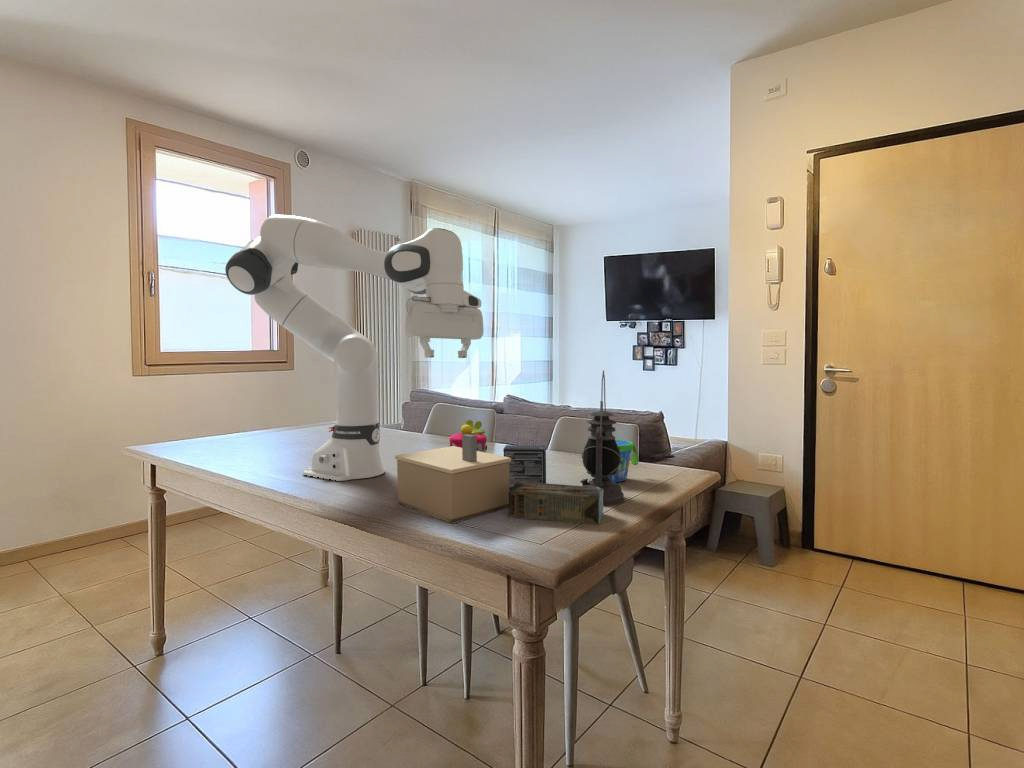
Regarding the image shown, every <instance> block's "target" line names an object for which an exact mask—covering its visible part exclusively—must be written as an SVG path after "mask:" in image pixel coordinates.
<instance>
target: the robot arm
mask: <svg viewBox="0 0 1024 768" xmlns="http://www.w3.org/2000/svg"><path fill="white" fill-rule="evenodd" d="M260 227H261V228H260V231H259V235H258V236H257V237H255V238H254V239H252V240H250V241H249V242H248V243H247V244H246V245H245V246H243V247H242V248H241V249H239V251H237V252H235V253H233V255H232V256H231V257H230V258H229V259H228V261H227V263H226V265H225V276H226V278H227V280H228V282H229V283H230V284H231V285H232V286H233V288H234V289H236V290H237V291H239V292H240V293H242V294H244V295H248V296H252V295H253V296H254V300H255V303H256V304H257V305H258V306H259V307H260V309H261V310H263V312H265V314H266V315H267V316H269V317H270V318H271V319H272V320H273V321H275V322H276V323H277V324H278V325H280V326H281V327H283V328H284V329H285V330H287V331H288V332H290V333H291V334H292V335H294V336H295V337H297V339H299V340H300V341H302V342H303V343H305V344H306V345H308V346H309V347H311V348H312V349H314V350H315V351H316V352H318V353H320V354H321V355H323V356H324V357H326V358H327V359H328V360H330V361H332V362H333V368H334V385H335V386H334V387H335V399H336V404H335V405H336V424H335V425H334V426H330V427H328V429H329V430H328V432H329V433H331V432H332V433H331V438H329V439H328V440H327V441H326V442H324V443H323V444H322V445H320V447H318V448H317V449H316V450H315V451H314V452H313V454H312V457H311V465H310V467H308V468H306V469H304V470H303V472H302V476H304V475H307V476H306V477H310V476H313V477H312V478H317V477H319V478H318V479H323V478H324V480H329V479H331V480H330V481H335V480H336V481H337V482H343V481H349V480H350V481H351V480H359V479H368V478H374V477H377V476H380V475H382V474H384V473H385V471H386V470H385V468H384V465H383V461H382V460H383V459H382V455H381V449H380V439H381V437H380V436H381V430H380V423H379V422H378V421H379V412H378V366H377V365H378V363H377V357H378V356H377V349H376V347H375V345H374V343H373V342H372V341H371V340H370V339H369V338H368V337H367V336H365V335H363V334H362V333H360V332H359V331H358V330H357V329H355V328H354V327H352V326H351V325H350V324H349V323H347V322H346V321H345V320H343V319H342V318H340V316H338V315H337V314H336V313H334V312H333V311H331V309H329V308H328V307H326V306H325V305H324V304H322V303H320V302H319V301H318V300H316V298H314V297H313V296H311V295H310V294H309V293H307V292H306V291H304V290H303V289H301V288H300V287H299V286H298V285H296V283H295V282H294V281H293V279H292V275H296V274H297V273H298V270H299V264H300V265H304V266H307V267H314V268H319V269H320V268H321V269H330V270H343V271H350V272H351V271H352V272H359V273H364V274H368V275H372V276H376V277H379V278H384V279H388V280H391V281H392V282H393V283H396V284H397V285H399V286H401V287H404V288H405V289H406V290H407V291H410V293H413V294H414V295H412V296H411V297H409V298H408V299H407V300H406V303H405V305H406V306H405V307H406V308H405V309H406V315H405V323H404V324H405V325H404V326H405V327H404V332H405V334H406V336H407V337H408V338H419V344H420V346H421V348H422V349H423V350H424V358H430V359H432V358H435V349H432V348H431V347H430V344H429V343H430V342H431V339H446V340H448V339H450V340H460V344H462V346H461V349H460V350H458V351H457V358H458V359H467V358H468V350H469V348H470V346H471V344H472V342H471V341H472V340H474V341H475V340H476V341H477V340H481V339H482V338H483V336H484V332H485V331H484V330H485V329H484V317H483V313H482V311H481V309H480V308H481V307H482V299H480V298H479V297H477V296H476V295H473V294H471V293H470V292H468V291H466V290H464V282H463V277H462V276H463V270H464V260H463V259H464V258H463V257H464V255H463V247H462V242H461V239H460V237H459V236H458V235H457V234H456V233H455V232H453V231H452V230H448V229H446V228H440V227H437V228H436V227H433V228H429V229H427V230H426V232H424V233H423V234H422V235H421V236H419V237H417V238H415V239H413V240H410V241H407V242H404V243H399V244H396V245H394V246H392V247H391V248H390V249H389V250H388V251H387V252H385V251H381V250H377V249H374V248H371V247H368V246H366V245H364V244H362V243H360V242H358V241H357V240H355V239H354V238H352V237H351V236H349V235H348V234H346V233H344V232H343V231H341V230H340V229H338V228H336V227H334V226H332V225H330V224H328V223H326V222H323V221H320V220H317V219H313V218H308V217H303V216H296V215H290V214H288V215H287V214H274V215H273V214H272V215H270V216H268V217H267V218H266V219H265V220H264V221H263V222H262V224H261V226H260ZM417 295H419V296H417ZM420 295H421V296H420ZM422 295H425V296H422Z"/></svg>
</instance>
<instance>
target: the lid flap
mask: <svg viewBox="0 0 1024 768" xmlns="http://www.w3.org/2000/svg"><path fill="white" fill-rule="evenodd" d="M394 457H395V458H394V459H395V460H396V461H397V460H401V461H405V462H408V463H412V464H416V465H419V466H423V467H427V468H431V469H434V470H438V471H442V472H446V473H449V474H454V473H458V472H463V471H468V470H473V469H478V468H482V467H487V466H492V465H497V464H502V463H506V462H511V458H509V457H504V455H498V454H494V453H489V452H486V453H485V452H480V451H477V436H475V435H470V434H465V435H462V448H460V447H456V446H451V447H450V446H445V447H440V448H433V449H428V450H427V449H426V450H421V451H416V452H415V451H414V452H409V453H404V454H397V455H394Z"/></svg>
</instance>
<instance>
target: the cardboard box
mask: <svg viewBox="0 0 1024 768" xmlns="http://www.w3.org/2000/svg"><path fill="white" fill-rule="evenodd" d="M396 471H397V473H396V474H397V476H396V477H397V504H398V503H400V504H399V505H401V504H402V506H404V505H405V506H404V507H406V506H408V507H407V508H409V507H411V508H410V509H412V508H413V509H412V510H415V509H416V510H415V511H417V510H419V511H418V512H420V511H421V512H420V513H423V512H424V513H423V514H425V513H426V515H428V514H429V515H428V516H431V515H432V516H431V517H433V516H434V518H436V517H437V519H439V518H440V519H439V520H441V519H442V520H441V521H444V520H445V521H444V522H447V521H448V522H447V523H449V522H450V523H449V524H454V523H453V522H456V523H458V522H457V521H459V522H462V521H461V520H463V521H465V519H466V520H469V519H468V518H470V519H472V517H473V518H476V517H480V516H483V515H487V514H490V513H494V512H497V511H500V510H501V511H502V510H504V509H507V508H508V509H509V491H510V490H509V462H506V463H502V464H497V465H492V466H487V467H482V468H478V469H473V470H468V471H463V472H458V473H454V474H449V473H446V472H442V471H438V470H434V469H431V468H427V467H423V466H419V465H416V464H412V463H408V462H405V461H401V460H397V459H396ZM486 513H487V514H486Z"/></svg>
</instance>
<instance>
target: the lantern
mask: <svg viewBox="0 0 1024 768" xmlns="http://www.w3.org/2000/svg"><path fill="white" fill-rule="evenodd" d="M600 389H601V397H600V398H601V399H600V402H599V404H600V406H599V409H600V411H592V412H591V413H589V414H588V415H589V416H591V417H594V418H592V419H590V420H587V421H586V423H587V424H590V426H588V427H587V431H588V432H590V434H589V436H587V438H588V439H587V441H586V444H585V446H584V448H583V451H582V454H581V459H582V466H583V468H584V469H585V471H586V474H588V475H590V476H591V478H590V479H588V478H584V479H583V478H582V479H581V480H580V481H579V482H580V483H581V486H584V487H599V488H603V506H616V505H619V504H622V503H624V502H625V497H624V495H625V494H624V492H622V487H621V484H619V483H618V482H611V480H610V479H608V478H611V477H612V476H613V475H615V474H616V471H617V469H618V468H619V466H620V464H621V463H622V460H621V454H620V451H619V448H618V446H617V444H616V441H615V440H616V436H614V434H613V433H614V432H616V427H613V425H616V424H617V421H616V420H613V419H611V418H610V417H613V416H614V415H615V414H614V413H612V412H609V411H607V410H606V409H607V408H606V407H607V406H606V405H607V404H606V377H605V370H602V375H601V388H600ZM603 398H604V399H603ZM603 400H604V401H603Z"/></svg>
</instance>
